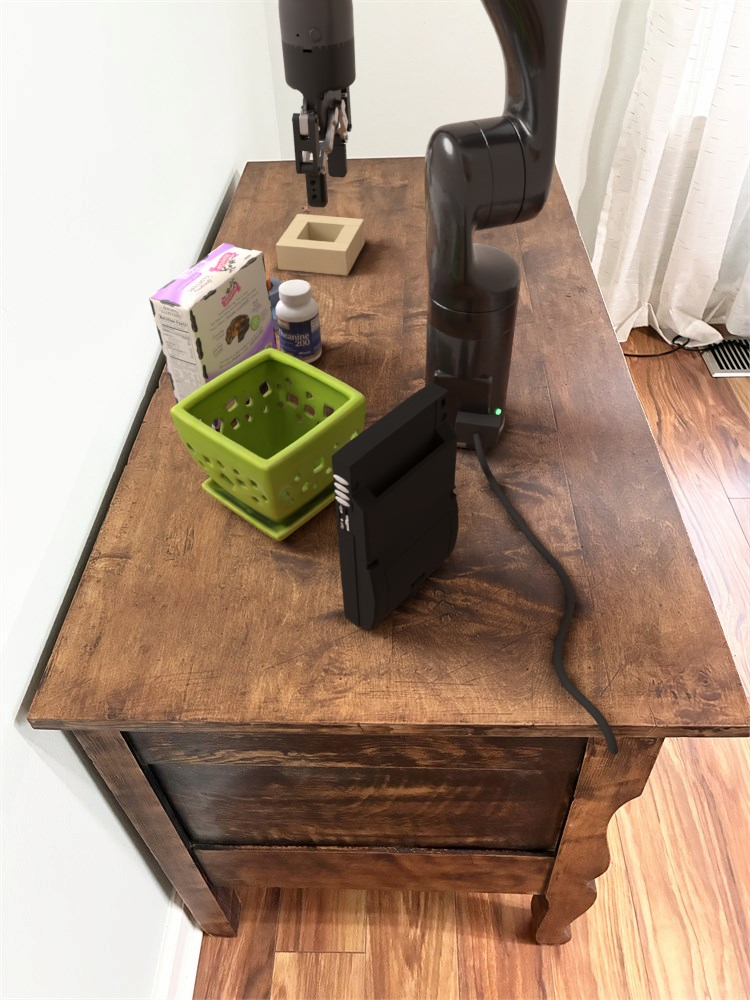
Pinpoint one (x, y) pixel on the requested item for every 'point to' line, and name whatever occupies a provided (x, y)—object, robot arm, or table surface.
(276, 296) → the switch block
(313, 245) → the dock
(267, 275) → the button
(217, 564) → the table surface
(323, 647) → the table surface
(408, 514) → the black electronic device
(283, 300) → the pill bottle
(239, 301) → the candy box
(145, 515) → the table surface
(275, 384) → the flower pot
